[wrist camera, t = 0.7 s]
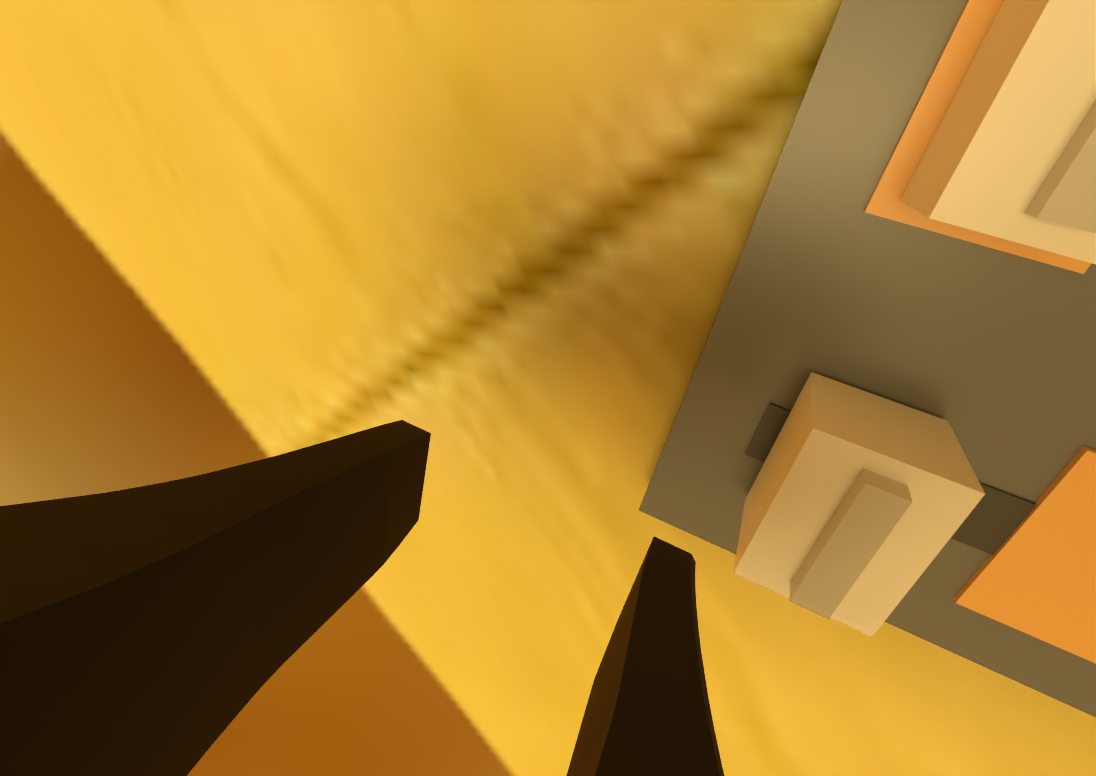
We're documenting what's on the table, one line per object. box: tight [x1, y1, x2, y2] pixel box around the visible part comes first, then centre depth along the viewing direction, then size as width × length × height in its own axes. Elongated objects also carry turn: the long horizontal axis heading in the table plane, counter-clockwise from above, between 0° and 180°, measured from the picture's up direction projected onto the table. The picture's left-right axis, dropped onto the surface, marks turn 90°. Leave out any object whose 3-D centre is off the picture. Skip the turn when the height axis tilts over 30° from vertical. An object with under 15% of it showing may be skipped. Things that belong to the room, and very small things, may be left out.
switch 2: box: [901, 0, 1096, 264], centre depth 8 cm, size 3×4×4 cm
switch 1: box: [733, 372, 985, 637], centre depth 12 cm, size 3×4×4 cm
